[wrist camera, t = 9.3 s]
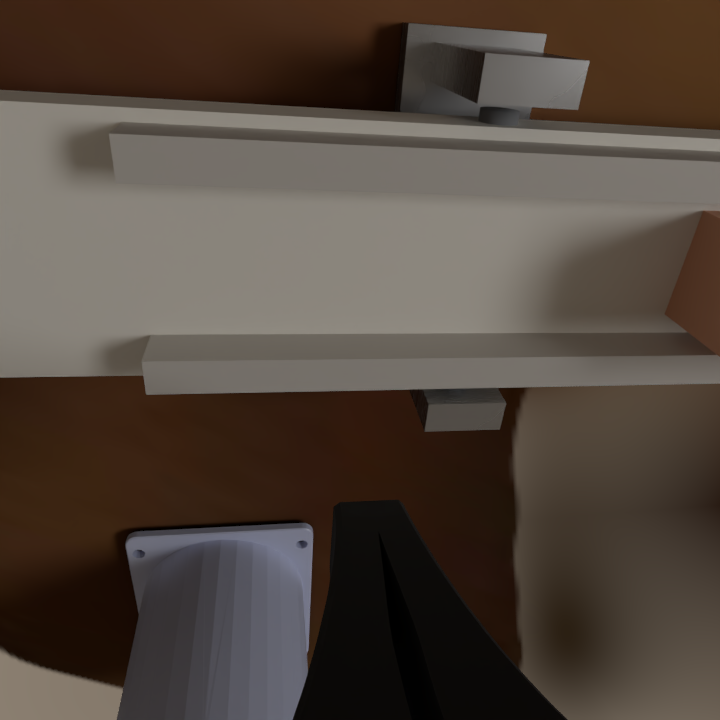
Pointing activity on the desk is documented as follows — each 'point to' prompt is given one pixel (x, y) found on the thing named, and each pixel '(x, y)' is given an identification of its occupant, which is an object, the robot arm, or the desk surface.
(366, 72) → the desk surface
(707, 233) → the block
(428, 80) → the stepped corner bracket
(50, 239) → the beam
